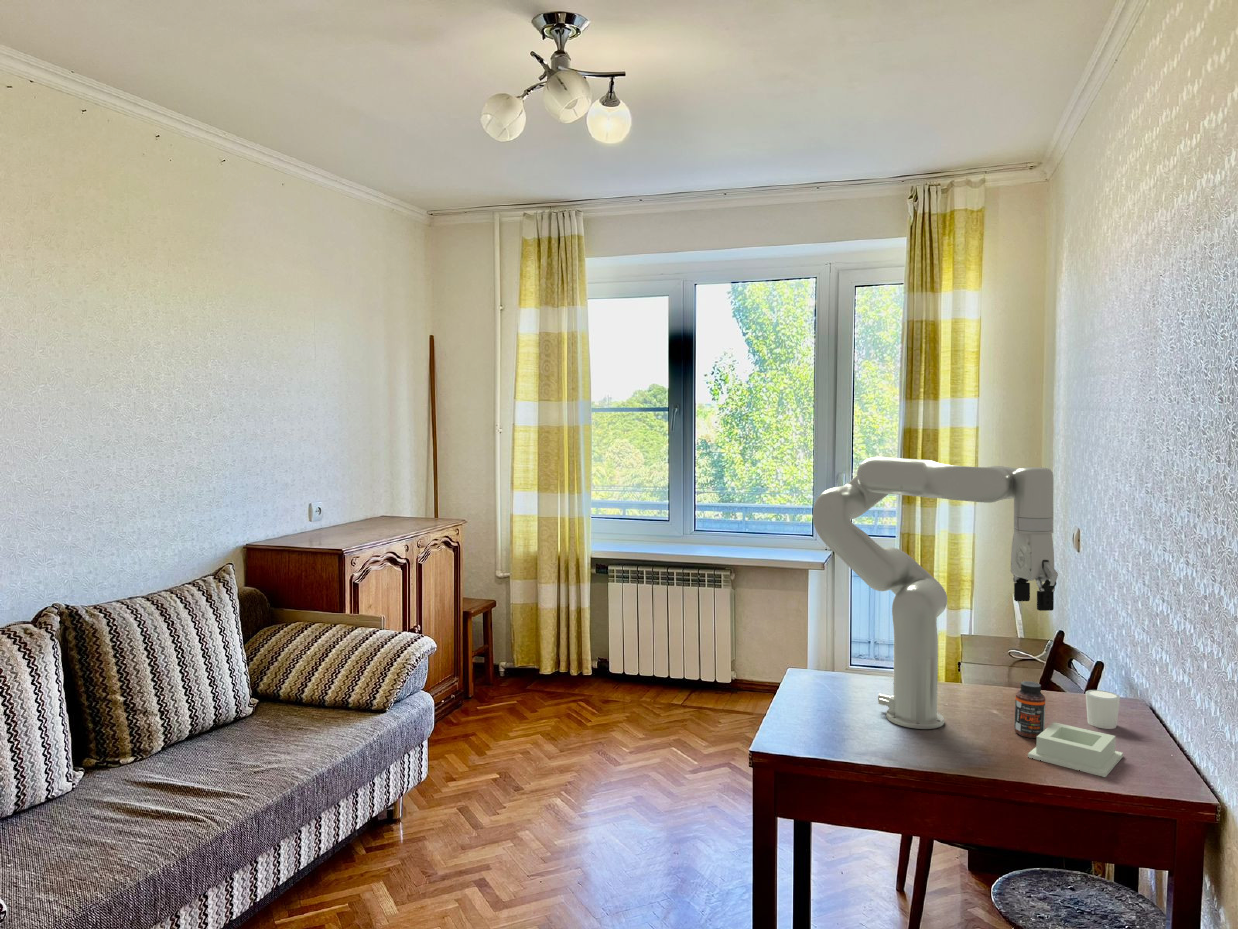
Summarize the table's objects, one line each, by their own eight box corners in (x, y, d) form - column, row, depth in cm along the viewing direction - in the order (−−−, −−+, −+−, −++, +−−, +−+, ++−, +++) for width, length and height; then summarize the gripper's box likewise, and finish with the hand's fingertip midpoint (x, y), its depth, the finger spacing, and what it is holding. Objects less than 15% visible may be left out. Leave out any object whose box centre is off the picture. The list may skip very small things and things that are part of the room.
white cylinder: (1112, 732, 182) (1113, 701, 181) (1079, 723, 187) (1080, 693, 187) (1124, 725, 186) (1125, 694, 186) (1091, 717, 191) (1092, 687, 191)
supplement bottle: (1017, 738, 178) (1018, 686, 178) (1011, 728, 184) (1012, 678, 183) (1047, 740, 177) (1049, 688, 176) (1040, 730, 183) (1041, 680, 182)
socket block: (1027, 757, 167) (1028, 736, 167) (1049, 738, 178) (1049, 719, 177) (1105, 777, 158) (1105, 755, 158) (1123, 756, 168) (1123, 736, 168)
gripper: (996, 521, 182) (996, 598, 183) (1036, 530, 165) (1036, 614, 166) (1030, 521, 182) (1030, 597, 183) (1073, 529, 165) (1073, 614, 166)
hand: (1033, 605), depth 174 cm, fingers open, 9 cm apart
